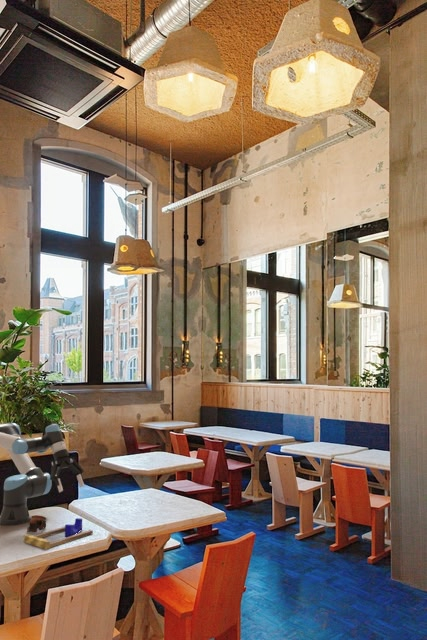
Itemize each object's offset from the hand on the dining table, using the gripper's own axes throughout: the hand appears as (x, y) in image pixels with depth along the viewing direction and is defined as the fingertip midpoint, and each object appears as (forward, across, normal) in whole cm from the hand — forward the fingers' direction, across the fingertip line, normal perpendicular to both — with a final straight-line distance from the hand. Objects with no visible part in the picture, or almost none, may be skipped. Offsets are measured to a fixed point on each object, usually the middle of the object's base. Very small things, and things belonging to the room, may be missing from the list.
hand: (71, 488), depth 269 cm
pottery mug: (+13, -16, +15) cm, 25 cm away
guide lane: (+22, -17, -2) cm, 28 cm away
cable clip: (+23, -10, -2) cm, 25 cm away
